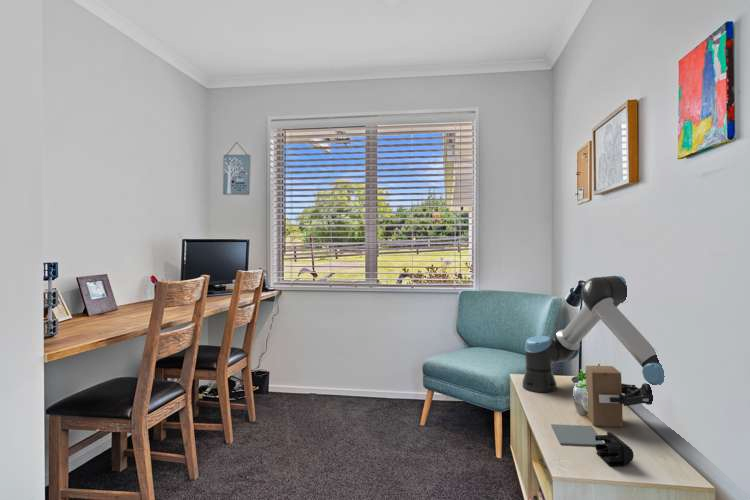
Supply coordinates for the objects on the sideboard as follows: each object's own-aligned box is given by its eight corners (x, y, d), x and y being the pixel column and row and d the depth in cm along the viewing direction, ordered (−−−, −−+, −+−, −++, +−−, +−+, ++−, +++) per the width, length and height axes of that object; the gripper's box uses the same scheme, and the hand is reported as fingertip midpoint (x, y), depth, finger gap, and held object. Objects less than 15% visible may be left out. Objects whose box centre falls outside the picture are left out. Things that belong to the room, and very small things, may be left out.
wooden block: (623, 427, 164) (621, 373, 164) (593, 426, 166) (592, 372, 166) (614, 417, 174) (612, 365, 174) (586, 416, 176) (585, 365, 176)
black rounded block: (634, 467, 135) (633, 445, 135) (610, 468, 136) (609, 445, 136) (617, 452, 145) (616, 431, 145) (595, 452, 146) (594, 432, 146)
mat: (551, 425, 168) (551, 424, 168) (591, 427, 165) (591, 425, 165) (560, 444, 152) (560, 442, 152) (605, 446, 149) (605, 444, 149)
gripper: (671, 417, 154) (604, 414, 158) (643, 393, 178) (585, 391, 183) (670, 395, 154) (603, 393, 158) (642, 374, 178) (585, 373, 183)
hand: (594, 392), depth 170 cm, fingers open, 13 cm apart
